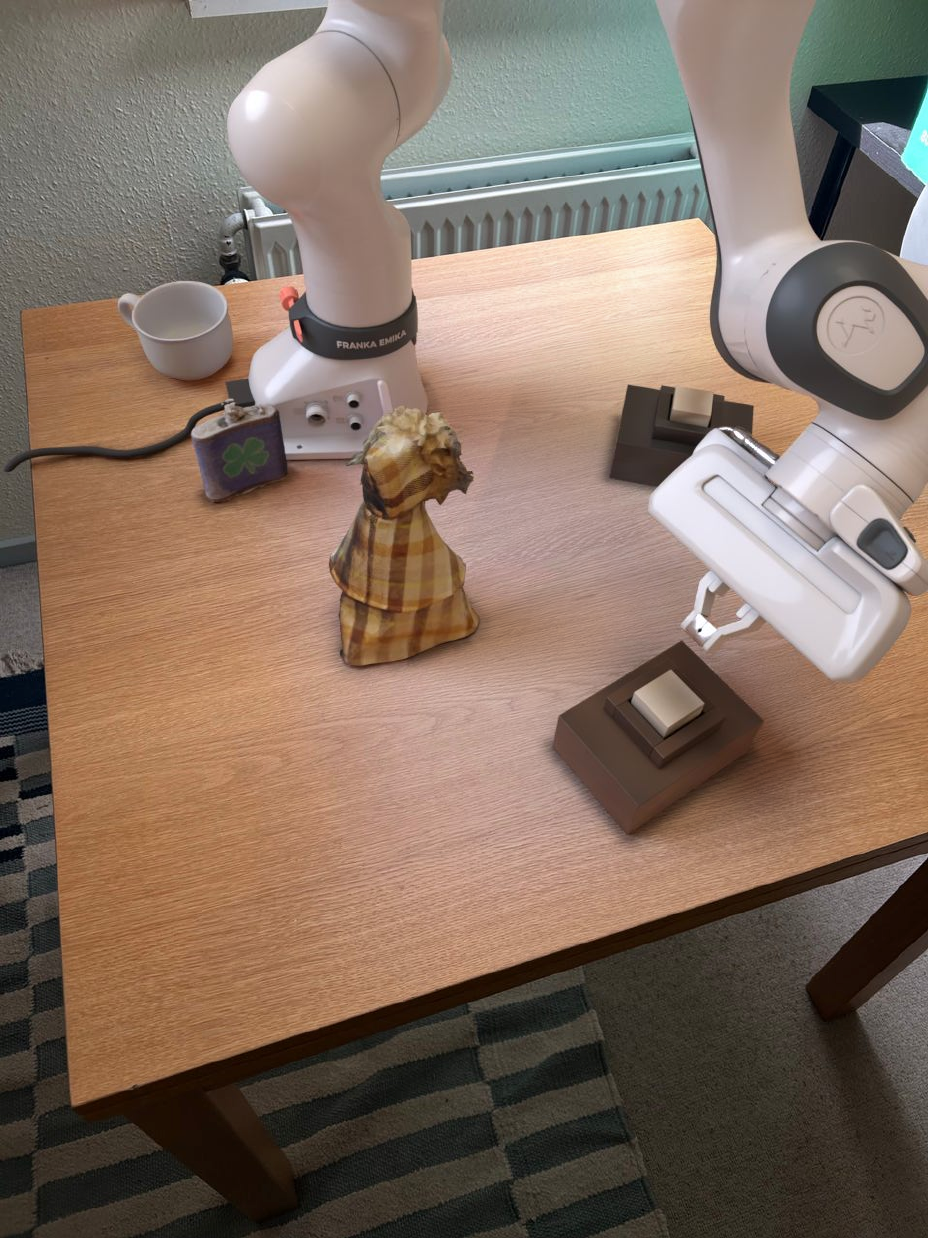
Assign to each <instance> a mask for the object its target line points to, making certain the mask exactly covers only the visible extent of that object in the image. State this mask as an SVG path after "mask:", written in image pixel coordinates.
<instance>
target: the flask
mask: <svg viewBox="0 0 928 1238" xmlns="http://www.w3.org/2000/svg"><path fill="white" fill-rule="evenodd" d="M224 401H225V402H227V403H228V402H231V401H234V400H233V399H229V398H227V399H225V400H224ZM220 403H221V405H223V404H224V403H222V402H220ZM190 436H191V441H192V444H193V447H194V452H195V455H196V456H195V457H196V459H197V464H198V467H199V471H200V475H201V479H202V483H203V487H204V490H205V496H206V497H207V499H208V500H209V501H210V502H211V503H217V502H221V503H222V502H226V501H230V500H232V498H233V497H238V496H240V495H245V494H248V493H251V492H253V491H254V490H255V489H256V488H258V487H261V488H263V487H264V486H265V485H267V484H274V483H277V482H279V481H280V482H281V481H283V480H285V479H286V478H287V476H288V475H289V474H290V473H289V472H288V460H286V454H285V446H284V442H283V434H282V429H281V422H280V415H279V411H278V410H277V409H276V407H275V406H273V405H271V404H268V403H266V404H260V405H259V404H258V405H254V406H251V407H245V408H242V407H239V406H235V402H234V403H231V404H227V405H225V410H224V412H223V413H222V414H221V415H219V416H215V417H213V418H211V419H208V420H207V421H205V422H202V423H200V424H198V425H196V426H195V428H194V429H192V432H191V434H190Z"/></svg>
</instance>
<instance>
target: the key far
mask: <svg viewBox="0 0 928 1238" xmlns="http://www.w3.org/2000/svg"><path fill="white" fill-rule="evenodd" d="M713 394H714V391H709V390H704V389H697V388H691V387H685V386H680V385H676V386H675V391H674V395H673V400H672V407H671V414H670V420H669V421H674V422H680V423H685V424H691V425H697V426H703V427H708V424H709V421H710V418H711V412H712V402H713Z"/></svg>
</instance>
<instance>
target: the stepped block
mask: <svg viewBox="0 0 928 1238" xmlns="http://www.w3.org/2000/svg"><path fill="white" fill-rule="evenodd" d="M675 388H676V386H675V387H674V386H670V385H669V386H668V385H663V384H662V385H660V389H659V388H653V387H652V388H651V387H646V386H640V385H634V384H627V386H626V391H625V396H624V401H623V404H622V410H621V415H620V420H619V425H618V428H617V429H618V430H617V435H616V439H615V440H616V441H615V445H614V450H613V455H612V461H611V466H610V471H609V475H608V477H609V479H613V480H618V481H623V482H627V483H628V482H629V483H634V484H640V485H645V486H651V487H656V488H657V487H658V486H659V485H660V484H661V483H662V482H663V481H664V480H665V479H666V478H667V477H668V476H669V475H670V474H671V473H672V472H673V471H674V470H676V469H677V468H678V467H679V466H680V465H681V464H682V463H683V462H685V461H686V460H687V459H688V458H689V457H691V456H692V455H693V452H694V450H695V448H696V447H697V446H698V444H699V443H700V442H701V441H702V440H703V439H704V437H705V436H706V435H707V434H708V433H709V432H710V431H711V430H713V429H715V428H719V427H724V426H728V427H733V428H735V427H738V426H739V427H742V428H743V429H745V430H747V431H748V432H749V433H750V434H751V435H752V436H753V427H754V411H755V409H754V407H755V405H754V404H753V405H752V404H747V403H742V402H735V401H729V400H725V398H726V397H725V395H722V394H716V393H713V402H712V412H711V418H710V421H709V424H708V427H703V426H697V425H691V424H685V423H680V422H674V421H669V420H670V414H671V407H672V400H673V395H674V391H675ZM723 433H725V434H726V435H727V436H728V437H730V438H731V436H730V434H731V433H730V432H723ZM731 439H732V438H731ZM732 440H733V439H732ZM733 441H734V440H733ZM742 448H743V449H745V448H744V447H742ZM745 450H746V451H747V452H748V453H750V452H749V451H748V450H747V449H745ZM750 454H751V453H750ZM751 455H752V454H751Z"/></svg>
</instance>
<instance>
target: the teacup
mask: <svg viewBox="0 0 928 1238" xmlns="http://www.w3.org/2000/svg"><path fill="white" fill-rule="evenodd" d="M130 306H131V307H132V308H133V309H131V308H130ZM117 311H118V313H119V315H120V317H121V318H122V320H124V322H125V323H126V324H127V325H128V326H129V327H131V328H132V329H133V330H135V331H136V333H137V336H138V338H139V342H140V344H141V347H142V350H143V351H144V354H145V356H146V358H147V360H148V361H149V363H150V364H151V366H152V367H153V368H154V369H155V370H156V371H158V372H159V373H161V374H162V375H164V376H166V377H169V378H172V379H176V380H180V381H181V380H182V381H199V380H203V379H205V378H209V377H211V376H212V375H214V374H215V373H217V372H218V371H219V370H221V369H222V368H223V367H224V366H225V365H226V364H227V363H228V362H229V360H230V358H231V356H232V354H233V350H234V334H233V327H232V322H231V317H230V313H229V304H228V300H227V298H226V296H225V295H224V294H223V292H222V291H220V290H219V289H218V288H216V287H215V286H213V285H210V284H209V283H206V282H202V281H194V280H177V281H171V282H167V283H164V284H161V285H158V286H155V287H154V288H152V289H150V290H149V291H147V292H146V293H144V294H143V295H142V296H141V297H140V296H139V295H137V294H135V293H132V292H131V293H130V292H127V293H124V294H122V295H121V297H119V299H118V301H117Z"/></svg>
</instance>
